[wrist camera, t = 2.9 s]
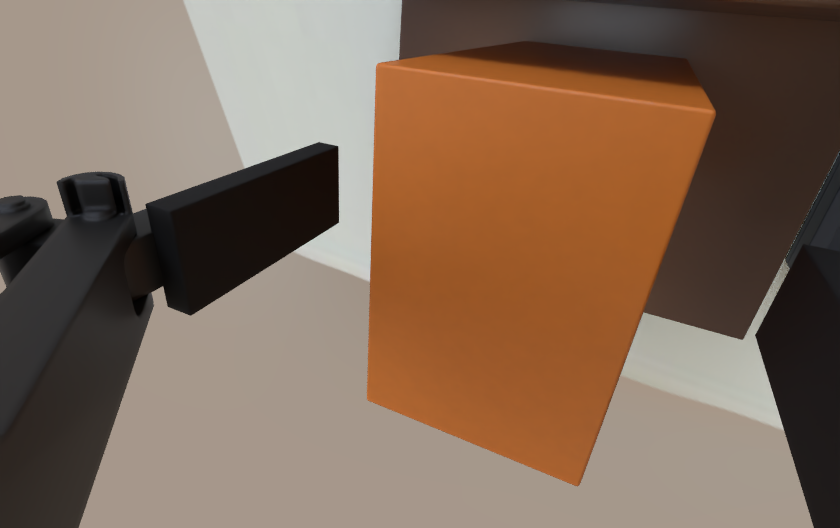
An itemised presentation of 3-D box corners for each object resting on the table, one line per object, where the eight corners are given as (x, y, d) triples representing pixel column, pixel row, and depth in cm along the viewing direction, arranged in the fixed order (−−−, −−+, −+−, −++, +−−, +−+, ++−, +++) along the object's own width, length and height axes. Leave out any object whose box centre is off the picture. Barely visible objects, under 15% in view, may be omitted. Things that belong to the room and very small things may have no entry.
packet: (687, 58, 17) (719, 110, 7) (617, 275, 21) (578, 488, 12) (523, 40, 19) (374, 62, 9) (490, 242, 23) (365, 400, 14)
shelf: (828, 0, 22) (1281, -55, 6) (720, 249, 28) (795, 554, 12) (480, -23, 28) (219, -83, 11) (455, 188, 34) (264, 342, 18)
